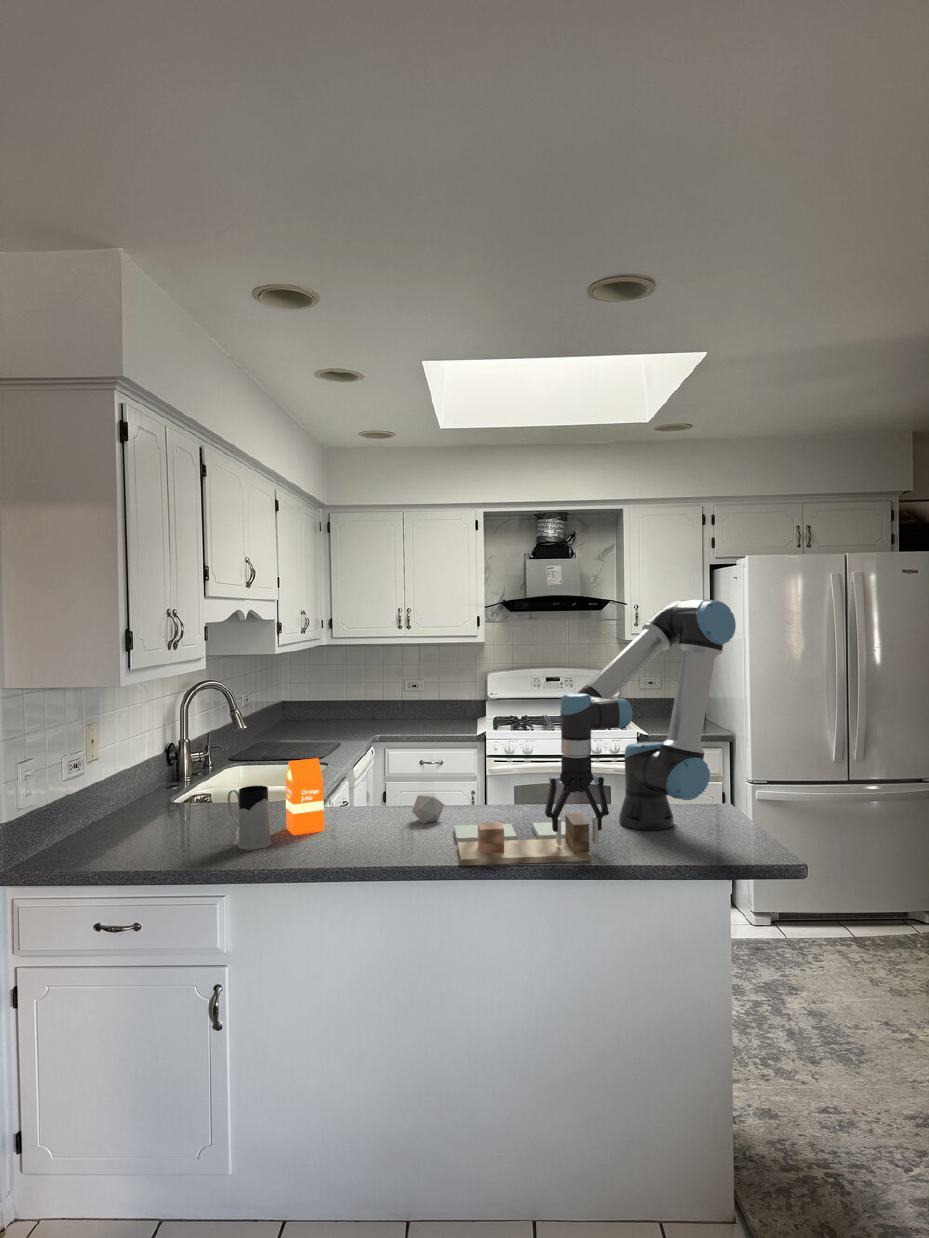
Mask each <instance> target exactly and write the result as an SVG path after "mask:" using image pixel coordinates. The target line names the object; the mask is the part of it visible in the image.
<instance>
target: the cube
mask: <svg viewBox="0 0 929 1238" xmlns="http://www.w3.org/2000/svg"><path fill="white" fill-rule="evenodd" d="M502 824H503V823H502V822H501V821H499V822H497V821H496V822H493V821H492V822H477V825H478V847H479V851H480V854H482V853H504V828H503V825H502Z"/></svg>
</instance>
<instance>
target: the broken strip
mask: <svg viewBox="0 0 929 1238" xmlns="http://www.w3.org/2000/svg"><path fill="white" fill-rule="evenodd" d="M502 825H503V828H504V841H508V840H518V839H517V838H518V837H517V833H516V832H515V829H514V828H513V825H512V823H502ZM453 826H454V827H453V831H454V837H455V841H456V844H457V845H458V842H478V824H462V825H461V824H458V825H457V824H456V825H453ZM531 828H532V830H533V832H534V834H535V836H536V839H556V832H554V831H553V829H552V821H550V822H546V821H545V822H532V823H531ZM561 839H566V836H565V821H561Z"/></svg>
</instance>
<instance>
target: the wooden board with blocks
mask: <svg viewBox="0 0 929 1238" xmlns="http://www.w3.org/2000/svg"><path fill="white" fill-rule="evenodd" d="M564 817H565V818H564V820H565V821H564V822H565V836H566V839H561V846H558V844H557V843H556V839H538V838H536V839H517V840H508V841H504V853H482V854H480V851H479V847H478V842H458V844H457V852H458V857H459V861H460V865H461V866H480V865H481V866H484V865H486V866H487V865H489V866H490V865H513V864H515V865H517V864H542V863H568V862H569V863H570V862H571V863H572V862H591V861H592V854H591V853H590V824H589V822H588V821H587V820H586V818H585V817H584V816H583V815H582V813H565V816H564Z"/></svg>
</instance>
